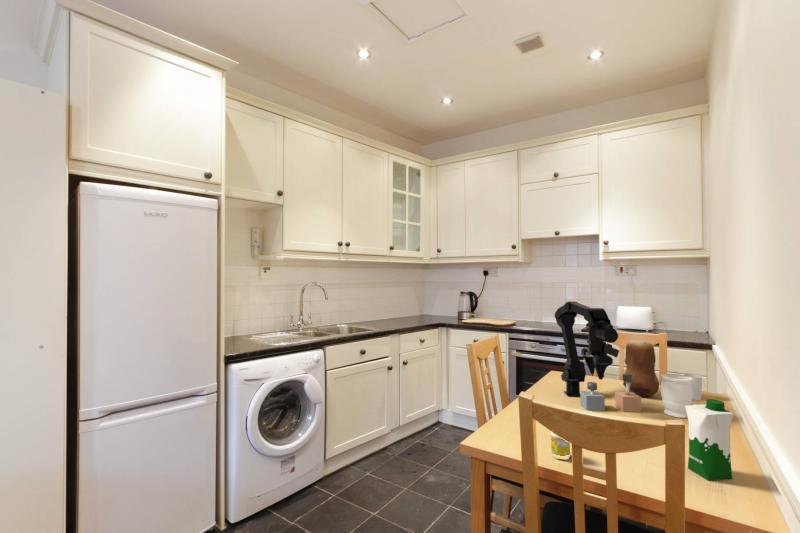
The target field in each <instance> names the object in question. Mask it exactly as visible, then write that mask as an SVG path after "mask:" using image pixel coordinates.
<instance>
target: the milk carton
mask: <svg viewBox="0 0 800 533" xmlns="http://www.w3.org/2000/svg"><path fill="white" fill-rule="evenodd" d="M685 407H686V412H687V416H688V418H687V420H688V461H687V469H689V470H690V471H692V472H694V473H695V474H696V475H698V476H699V477H701V478H703V479H705V480H707V481H709V482H711V481H727V480H733V470H732V460H731V427H732V422H733V418H734V413H733V412H731V411H729V410H726V409H725V402H724V401H722V400H718V399H711V398H708V399H706V401H705V404H693V405H692V404H691V405H688V406H685Z"/></svg>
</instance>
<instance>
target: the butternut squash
mask: <svg viewBox="0 0 800 533" xmlns="http://www.w3.org/2000/svg"><path fill="white" fill-rule="evenodd" d="M624 359H625V360H624V364H625V365H626V369H625V371H624V374H630V375H633V382H629V392H634V393H635V394H637V395H638V396H640V397H641V398H649V397H651V396H654V395H656V394H657V393H658V391H659V389H660V382H659V379H658V376H657V374H656V370H655V367H656V360H657V359H656V350H655V347H654V345H653V344H652V343H651V342H649V341H645V340H638V339H637V340H636V339H632V340H631V339H630V340H629V341H627V342H626V345H625V358H624ZM622 385H623V386H624V388H626V382H625V381H622Z"/></svg>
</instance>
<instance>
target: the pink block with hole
mask: <svg viewBox="0 0 800 533" xmlns="http://www.w3.org/2000/svg"><path fill="white" fill-rule="evenodd" d="M629 394H630V395H626V391H615V393H614V396H615V397H614V399H615V402H614V404H615V407H616V408H617V407H618V408H617V409H619V410H620V411H621V412H623V413H642V397H641V396H638V395H637V394H635V393H634V392H629Z"/></svg>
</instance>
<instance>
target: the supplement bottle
mask: <svg viewBox="0 0 800 533" xmlns="http://www.w3.org/2000/svg"><path fill="white" fill-rule="evenodd" d="M550 445H551V446H550V448H551V449H550V450H551V451H552V453H553V454H556V455H560V456H566V455H569V454H570V455H571V442H570V443H569V442H566V441H565V440H563V439H561V438H560V437H558V436H556V435H555V434H553V433H552V431H551V432H550Z"/></svg>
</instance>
